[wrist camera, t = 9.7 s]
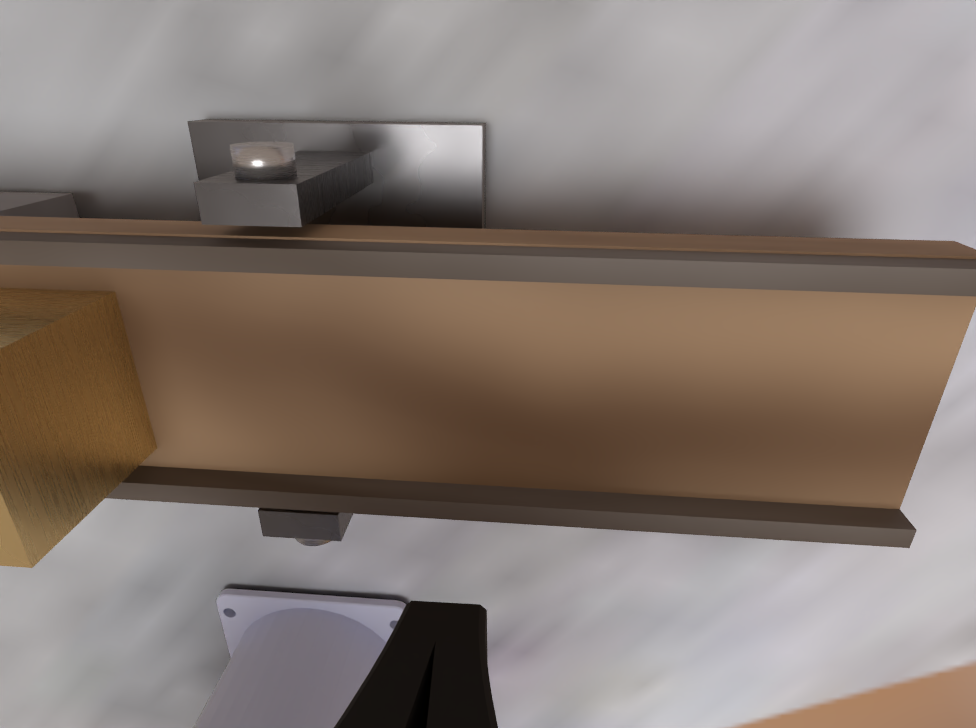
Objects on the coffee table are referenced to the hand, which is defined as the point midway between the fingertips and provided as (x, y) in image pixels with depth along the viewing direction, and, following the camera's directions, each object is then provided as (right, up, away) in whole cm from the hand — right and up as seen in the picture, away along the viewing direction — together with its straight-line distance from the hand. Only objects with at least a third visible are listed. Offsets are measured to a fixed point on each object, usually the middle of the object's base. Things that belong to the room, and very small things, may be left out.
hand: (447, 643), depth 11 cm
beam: (-4, +7, +8) cm, 11 cm away
